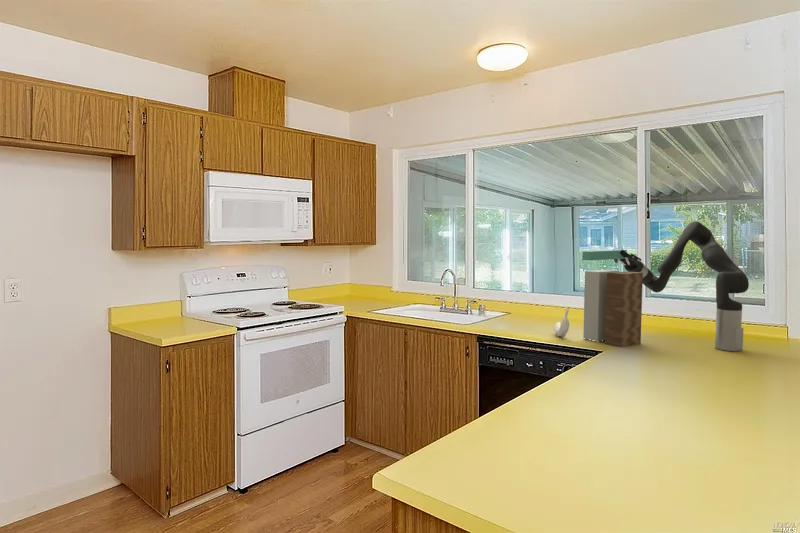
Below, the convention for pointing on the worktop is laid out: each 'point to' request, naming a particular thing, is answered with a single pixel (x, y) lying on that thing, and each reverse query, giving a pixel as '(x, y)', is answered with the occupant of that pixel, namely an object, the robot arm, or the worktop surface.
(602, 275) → the grey stand
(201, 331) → the worktop surface
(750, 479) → the worktop surface
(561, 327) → the white tapered lobed shape
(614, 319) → the walnut stand
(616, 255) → the teal block
